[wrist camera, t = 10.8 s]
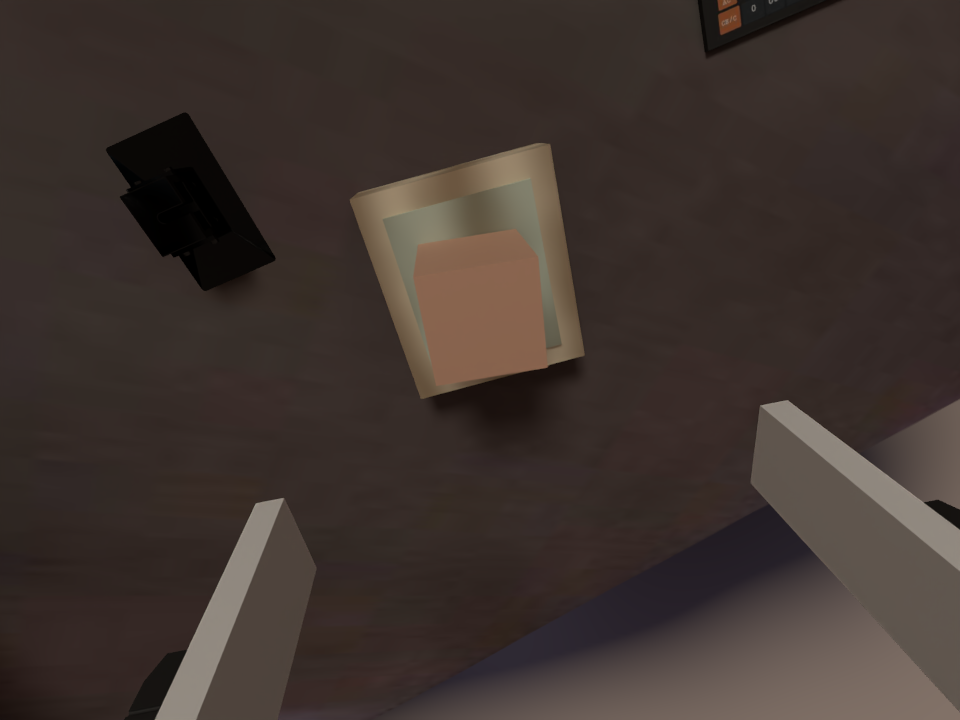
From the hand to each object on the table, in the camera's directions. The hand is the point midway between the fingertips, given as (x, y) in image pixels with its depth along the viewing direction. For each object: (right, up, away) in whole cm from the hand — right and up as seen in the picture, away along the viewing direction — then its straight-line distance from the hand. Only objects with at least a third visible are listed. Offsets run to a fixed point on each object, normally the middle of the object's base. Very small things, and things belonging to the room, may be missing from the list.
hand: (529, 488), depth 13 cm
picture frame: (-2, +10, +21) cm, 23 cm away
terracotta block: (-2, +8, +17) cm, 19 cm away
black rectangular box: (-19, +14, +17) cm, 29 cm away
